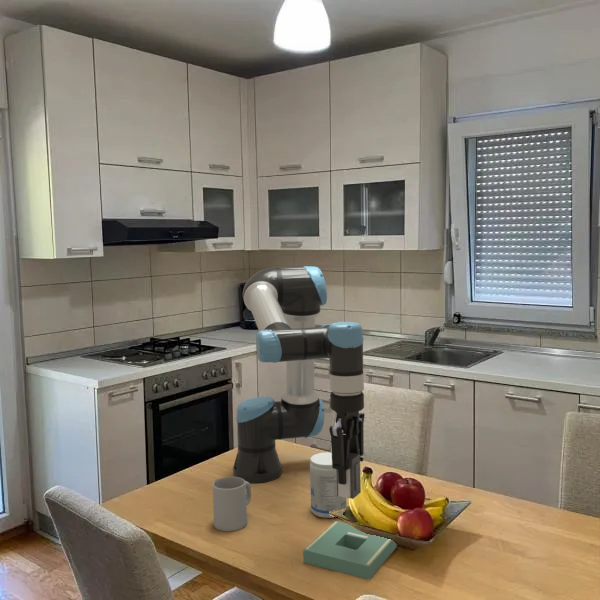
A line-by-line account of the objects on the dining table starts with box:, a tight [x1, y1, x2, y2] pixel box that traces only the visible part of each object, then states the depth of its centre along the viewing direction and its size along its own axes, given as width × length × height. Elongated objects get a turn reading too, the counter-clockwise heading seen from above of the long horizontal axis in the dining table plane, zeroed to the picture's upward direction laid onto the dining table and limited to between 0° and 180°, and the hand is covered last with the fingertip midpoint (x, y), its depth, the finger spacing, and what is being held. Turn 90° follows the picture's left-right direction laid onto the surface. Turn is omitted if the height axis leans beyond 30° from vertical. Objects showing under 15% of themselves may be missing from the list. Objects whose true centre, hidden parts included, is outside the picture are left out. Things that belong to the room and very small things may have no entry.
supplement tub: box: [309, 451, 347, 519], centre depth 167 cm, size 10×10×15 cm
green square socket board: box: [302, 520, 398, 581], centre depth 145 cm, size 16×16×3 cm
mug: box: [211, 476, 252, 532], centre depth 163 cm, size 12×8×11 cm
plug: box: [336, 452, 362, 500], centre depth 143 cm, size 4×4×9 cm
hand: (349, 492), depth 143 cm, fingers closed on plug, 4 cm apart
